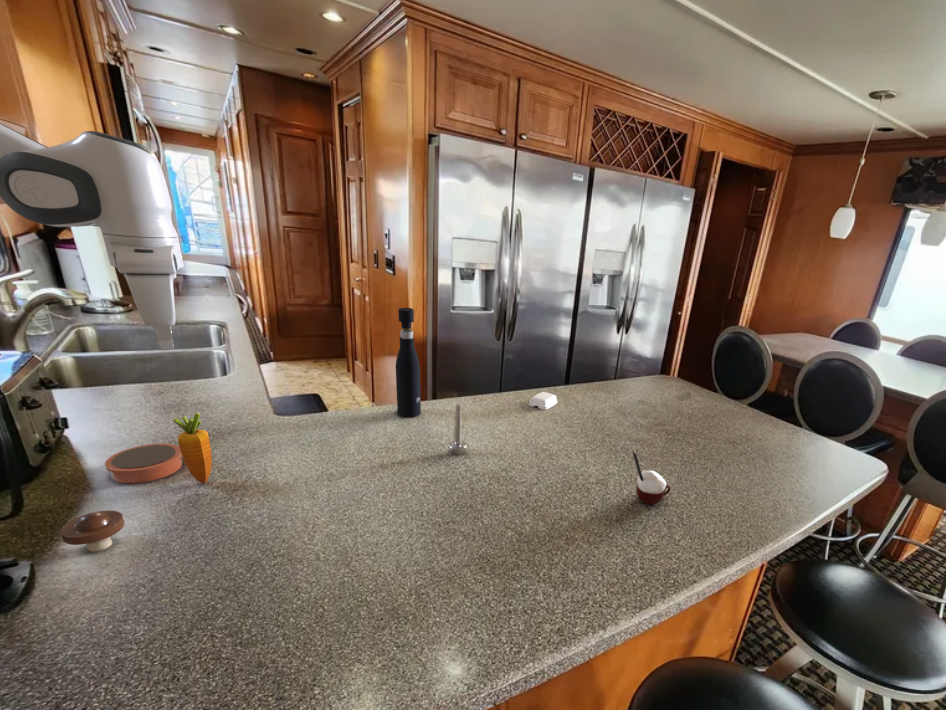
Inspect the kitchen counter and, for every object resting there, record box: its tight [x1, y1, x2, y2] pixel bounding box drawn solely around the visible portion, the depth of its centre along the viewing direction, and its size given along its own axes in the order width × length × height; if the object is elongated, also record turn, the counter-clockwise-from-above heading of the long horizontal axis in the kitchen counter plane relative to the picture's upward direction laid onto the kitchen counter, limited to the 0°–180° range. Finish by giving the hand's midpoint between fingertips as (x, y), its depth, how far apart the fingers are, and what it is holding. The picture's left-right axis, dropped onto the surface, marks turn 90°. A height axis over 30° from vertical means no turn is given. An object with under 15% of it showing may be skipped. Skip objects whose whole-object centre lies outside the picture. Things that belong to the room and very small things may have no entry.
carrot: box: [172, 412, 213, 485], centre depth 88 cm, size 5×5×15 cm
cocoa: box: [632, 450, 671, 505], centre depth 99 cm, size 10×6×12 cm, turn 77°
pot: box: [104, 443, 183, 484], centre depth 93 cm, size 12×12×3 cm
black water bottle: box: [395, 307, 422, 419], centre depth 127 cm, size 6×6×30 cm
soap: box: [528, 391, 558, 410], centre depth 149 cm, size 9×7×3 cm
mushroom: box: [59, 510, 126, 553], centre depth 72 cm, size 7×7×6 cm
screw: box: [447, 403, 469, 456], centre depth 111 cm, size 13×5×5 cm
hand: (166, 341), depth 77 cm, fingers open, 8 cm apart
